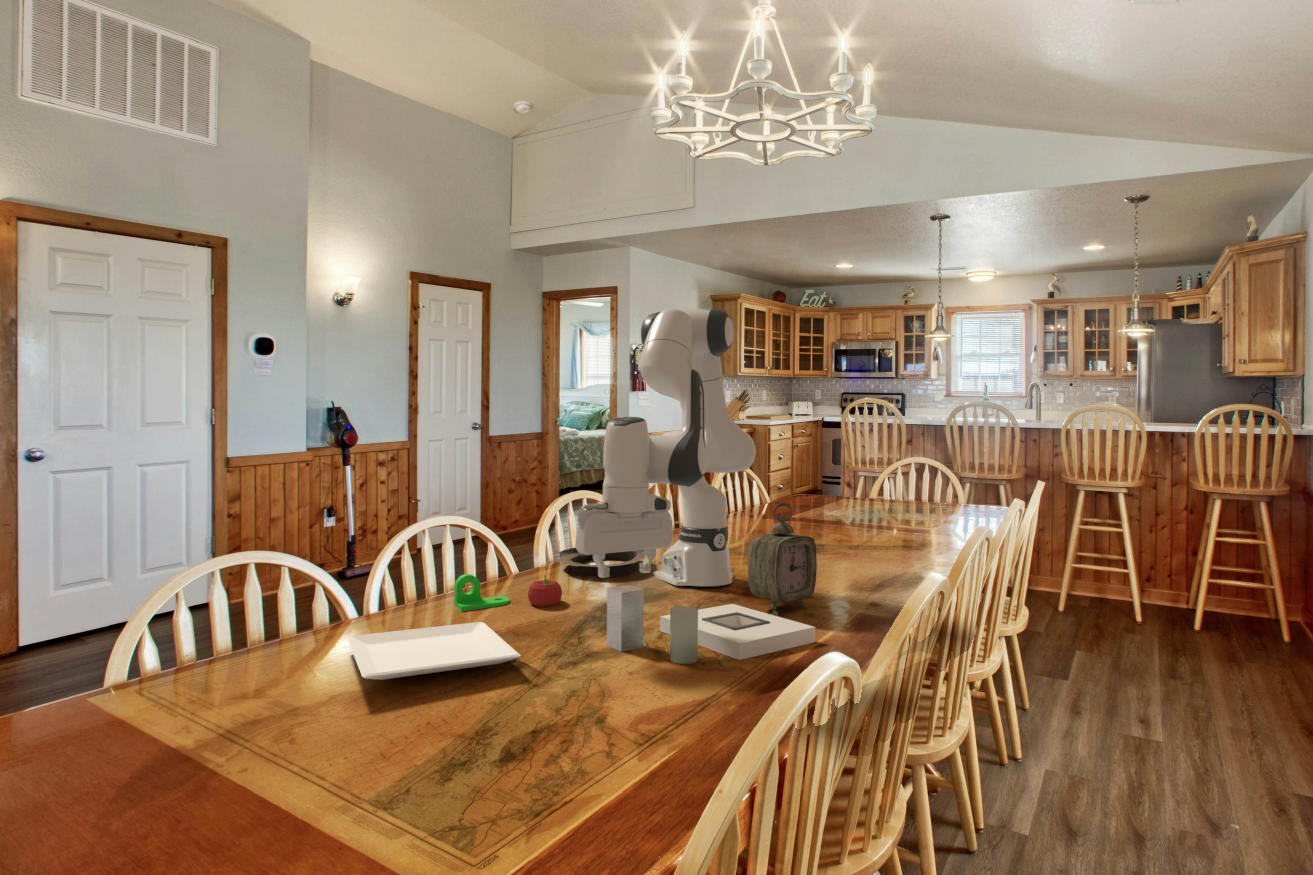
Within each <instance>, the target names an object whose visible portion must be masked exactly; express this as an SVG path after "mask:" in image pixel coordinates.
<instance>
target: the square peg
mask: <svg viewBox="0 0 1313 875" xmlns="http://www.w3.org/2000/svg"><path fill="white" fill-rule="evenodd" d="M606 591H607V593H606V597H607V598H606V646H608V647H609V648H612V649H613V650H617V651H619V652H626V651H632V650H636V649H640V648H641V649H642V648H644V607H645V606H644V600H645V599H644V598H645V597H644V595H645V594H644V593H645V592H644V588H640V587H637V586H633V585H630V584H628V585H627V584H626V585H621V586H620V585H619V586H612V587H607V588H606Z"/></svg>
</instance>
